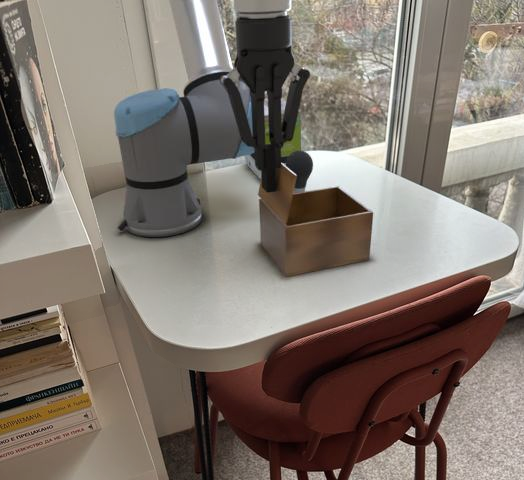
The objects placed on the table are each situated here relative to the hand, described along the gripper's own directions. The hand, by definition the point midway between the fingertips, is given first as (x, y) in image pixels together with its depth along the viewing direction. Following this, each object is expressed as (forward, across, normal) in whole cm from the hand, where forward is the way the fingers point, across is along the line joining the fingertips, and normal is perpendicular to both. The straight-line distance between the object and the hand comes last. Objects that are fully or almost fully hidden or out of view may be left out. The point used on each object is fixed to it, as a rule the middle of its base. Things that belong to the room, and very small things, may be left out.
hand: (268, 189), depth 87 cm
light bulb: (+13, +14, +24) cm, 31 cm away
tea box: (+13, +15, +44) cm, 49 cm away
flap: (0, +1, 0) cm, 1 cm away
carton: (+13, +8, 0) cm, 15 cm away
